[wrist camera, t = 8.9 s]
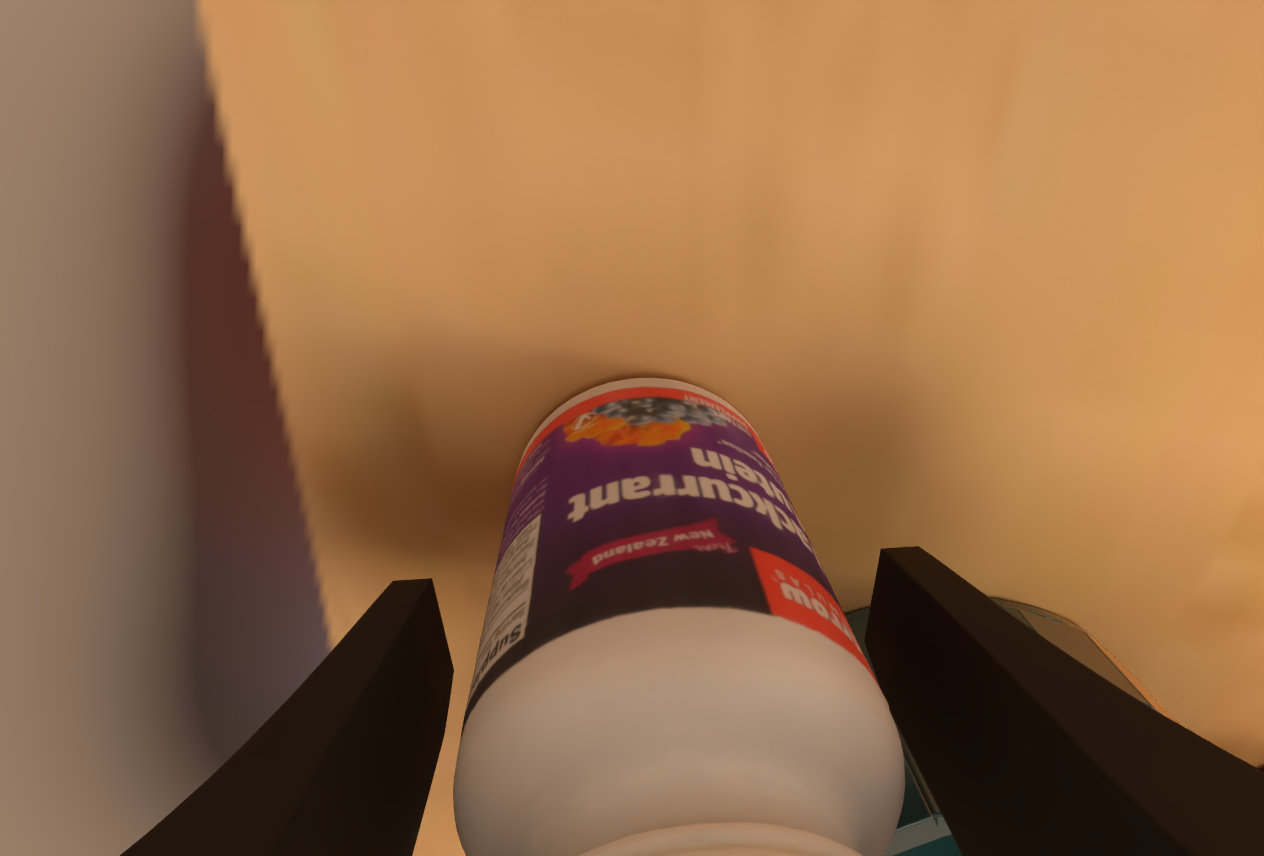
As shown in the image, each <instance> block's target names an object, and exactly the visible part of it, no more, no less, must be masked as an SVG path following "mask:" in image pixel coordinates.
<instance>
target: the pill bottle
mask: <svg viewBox="0 0 1264 856" xmlns="http://www.w3.org/2000/svg"><path fill="white" fill-rule="evenodd" d="M904 792H905V766H904V756H903V750H902V745H901V741H900V737H899V734H898V730H897V728H896V725H895V722H894V720H893V718H892V715H891V713H890V711H889V704H888V702H887V700H886V698H885V697H884V695H883V693H882V691H881V689H880V687H879V685H878V682H877V680H876V678H875V676H874V674H873V672H872V670H871V668H870V666H869V664H868V662H867V660H866V659H865V657H864V655H863V653H862V651H861V649H860V646H859V644H858V642H857V640H856V638H855V636H854V634H853V632H852V630H851V628H850V626H849V624H848V621H847V619H846V617H845V615H844V613H843V611H842V609H841V607H840V605H839V603H838V601H837V598H836V596H835V594H834V592H833V590H832V588H831V586H830V584H829V582H828V580H827V577H826V575H825V573H824V571H823V568H822V566H821V564H820V563H819V561H818V558H817V556H816V553H815V551H814V550H813V548H812V546H811V543H810V541H809V539H808V537H807V535H806V533H805V531H804V529H803V527H802V525H801V523H800V520H799V518H798V516H797V514H796V512H795V510H794V508H793V506H792V503H791V501H790V499H789V497H788V495H787V493H786V491H785V488H784V486H783V484H782V482H781V480H780V478H779V475H778V472H777V470H776V468H775V466H774V464H773V462H772V460H771V458H770V456H769V454H768V452H767V450H766V449H765V447H764V445H763V443H762V441H761V440H760V438H759V436H758V434H757V433H756V432H755V430H754V429H753V427H752V426H751V425H750V424H749V422H748V421H747V420H746V418H745V417H744V416H743V415H742V414H741V413H739V412H738V411H737V410H736V409H735V408H734V407H733V406H731V405H730V404H729V403H727V402H726V401H724V400H723V399H721V398H720V397H718V396H716V395H715V394H713V393H711V392H709V391H707V390H704V389H702V388H700V387H698V386H695V385H692V384H689V383H685V382H681V381H676V380H671V379H662V378H633V379H624V380H619V381H614V382H610V383H606V384H603V385H600V386H597V387H594V388H591V389H589V390H587V391H585V392H583V393H581V394H579V395H577V396H575V397H573V398H572V399H570V400H568V401H567V402H566V403H564V404H563V405H561V406H560V407H559V408H557V409H556V410H555V411H554V412H553V413H552V414H551V415H549V416H548V418H547V419H546V420H545V421H544V422H543V423H542V424H541V425H540V427H539V428H538V429H537V431H536V432H535V433H534V435H533V437H532V438H531V440H530V441H529V443H528V445H527V446H526V448H525V451H524V453H523V455H522V458H521V461H520V464H519V467H518V470H517V474H516V477H515V480H514V485H513V489H512V494H511V499H510V503H509V508H508V513H507V518H506V522H505V527H504V532H503V537H502V541H501V546H500V551H499V555H498V560H497V564H496V569H495V574H494V578H493V583H492V589H491V594H490V598H489V602H488V607H487V611H486V615H485V620H484V626H483V631H482V635H481V639H480V645H479V650H478V654H477V659H476V665H475V670H474V675H473V680H472V684H471V689H470V693H469V698H468V703H467V707H466V711H465V717H464V722H463V728H462V734H461V739H460V745H459V751H458V757H457V763H456V769H455V775H454V787H453V799H454V813H455V822H456V827H457V832H458V835H459V838H460V842H461V845H462V847H463V850H464V852H465V854H466V856H883V855H884V853H885V851H886V850H887V848H888V846H889V844H890V842H891V840H892V837H893V835H894V833H895V830H896V828H897V824H898V821H899V818H900V814H901V810H902V806H903V801H904Z"/></svg>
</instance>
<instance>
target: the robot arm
mask: <svg viewBox="0 0 1264 856" xmlns="http://www.w3.org/2000/svg"><path fill="white" fill-rule="evenodd" d="M864 643H865V645H866V648H867V651H868V654H869V657H870V660H871V663H872V666H873V669H874V672H875V675H876V677H877V680H878V683H879V685H880V688H881V691H882V693H883V695H884V697H885V698H886V700H887V702H888V704H889V710H890V712H891V714H892V716H893V718H894V720H895V722H896V724H897V726H898V728H899V730H900V732H901V734H902V736H903V738H904V740H905V742H906V744H907V746H908V748H909V750H910V752H911V754H912V756H913V758H914V760H915V762H916V764H917V766H918V768H919V770H920V772H921V774H922V776H923V778H924V780H925V782H926V784H927V786H928V788H929V790H930V792H931V794H932V796H933V798H934V800H935V802H936V804H937V806H938V808H939V810H940V812H941V814H942V816H943V818H944V820H945V822H946V824H947V826H948V828H949V830H950V832H951V834H952V836H953V838H954V840H955V842H956V844H957V846H958V848H959V850H960V852H961V855H962V856H1264V772H1263V771H1261V770H1259V769H1258V768H1256V767H1254V766H1252V765H1250V764H1248V763H1247V762H1245V761H1243V760H1241V759H1239V758H1237V757H1236V756H1234V755H1232V754H1230V753H1228V752H1226V751H1225V750H1223V749H1221V748H1219V747H1217V746H1216V745H1214V744H1212V743H1211V742H1209V741H1207V740H1205V739H1204V738H1202V737H1200V736H1198V735H1197V734H1195V733H1193V732H1192V731H1190V730H1188V729H1186V728H1185V727H1183V726H1181V725H1180V724H1178V723H1176V722H1174V721H1173V720H1171V719H1169V718H1167V717H1166V716H1164V715H1162V714H1161V713H1159V712H1157V711H1155V710H1154V709H1152V708H1151V707H1149V706H1147V705H1146V704H1144V703H1142V702H1141V701H1139V700H1138V699H1136V698H1134V697H1133V696H1131V695H1130V694H1128V693H1126V692H1125V691H1123V690H1122V689H1120V688H1119V687H1117V686H1116V685H1114V684H1112V683H1111V682H1109V681H1108V680H1106V679H1105V678H1103V677H1102V676H1100V675H1099V674H1097V673H1096V672H1094V671H1093V670H1091V669H1090V668H1088V667H1086V666H1085V665H1083V664H1082V663H1080V662H1079V661H1077V660H1076V659H1074V658H1073V657H1071V656H1070V655H1069V654H1067V653H1066V652H1064V651H1063V650H1061V649H1060V648H1058V647H1057V646H1055V645H1054V644H1052V643H1051V642H1050V641H1048V640H1047V639H1045V638H1044V637H1043V636H1041V635H1040V634H1038V633H1037V632H1035V631H1034V630H1033V629H1031V628H1030V627H1028V626H1027V625H1026V624H1024V623H1023V622H1021V621H1020V620H1019V619H1017V618H1016V617H1014V616H1013V615H1012V614H1010V613H1009V612H1008V611H1006V610H1005V609H1004V608H1002V607H1001V606H999V605H998V604H997V603H995V602H994V601H993V600H991V599H990V598H989V597H987V596H986V595H985V594H983V593H982V592H981V591H979V590H978V589H976V588H975V587H974V586H972V585H971V584H970V583H968V582H967V581H966V580H964V579H963V578H962V577H960V576H959V575H958V574H956V573H955V572H954V571H952V570H951V569H950V568H948V567H947V566H945V565H944V564H943V563H941V562H940V561H939V560H937V559H936V558H934V557H933V556H932V555H930V554H929V553H927V552H926V551H924V550H923V549H922V548H920V547H919V546H915V547H900V548H885V549H881V552H880V557H879V562H878V568H877V573H876V579H875V584H874V590H873V595H872V600H871V606H870V611H869V617H868V622H867V627H866V633H865V638H864ZM453 673H454V668H453V664H452V660H451V656H450V652H449V648H448V643H447V639H446V635H445V631H444V627H443V622H442V618H441V614H440V610H439V606H438V602H437V597H436V593H435V589H434V585H433V581H432V578H430V579H415V580H399V581H393V582H392V583H391V584H390V585H389V586H388V587H387V588H386V589H385V590H384V592H383V593H382V594H381V595H380V596H379V597H378V598H377V599H376V601H375V602H374V603H373V604H372V605H371V606H370V608H369V609H368V610H367V611H366V612H365V613H364V614H363V616H362V617H361V618H360V619H359V620H358V621H357V623H356V624H355V625H354V626H353V627H352V628H351V630H350V631H349V632H348V633H347V634H346V635H345V636H344V638H343V639H342V640H341V641H340V642H339V643H338V645H337V646H336V647H335V648H334V649H333V650H332V651H331V653H330V654H329V655H328V656H327V657H326V658H325V659H324V660H323V661H322V663H321V664H320V665H319V666H318V667H317V668H316V669H315V670H314V671H313V672H312V674H311V675H310V676H309V677H308V678H307V679H306V680H305V681H304V682H303V683H302V685H301V686H300V687H299V688H298V689H297V690H296V691H295V692H294V693H293V694H292V695H291V697H290V698H289V699H288V700H287V701H286V702H285V703H284V704H283V705H282V706H281V707H280V708H279V709H278V710H277V711H276V712H275V713H274V714H273V715H272V716H271V717H270V718H269V719H268V720H267V721H266V722H265V723H264V724H263V725H262V726H261V728H259V730H258V731H257V732H256V733H255V734H254V735H253V736H252V737H251V738H250V739H249V740H248V741H247V742H246V743H245V744H244V745H243V746H242V747H241V748H240V749H239V750H238V751H237V752H236V753H235V754H234V755H233V756H232V757H231V758H230V759H229V760H228V761H227V762H225V763H224V764H223V765H222V766H221V767H220V768H219V769H218V770H217V771H216V772H215V773H214V774H213V775H212V776H211V777H210V778H209V779H208V780H207V781H205V782H204V783H203V784H202V785H201V786H200V787H199V788H198V789H197V790H196V791H194V792H193V794H191V795H190V796H189V797H188V798H187V799H185V800H184V801H183V802H182V803H181V804H180V805H179V806H178V807H177V808H176V809H174V811H172V812H171V813H170V814H169V815H168V816H166V817H165V818H164V819H163V820H162V821H161V822H160V823H158V824H157V825H156V826H155V827H154V828H153V829H152V830H150V831H149V832H148V833H147V834H146V835H145V836H143V837H142V838H141V839H140V840H138V841H137V842H136V843H135V844H133V845H132V846H131V847H130V848H129V849H127V850H126V851H125V852H124V853H122V854H121V855H120V856H412V854H413V850H414V847H415V843H416V839H417V836H418V832H419V828H420V825H421V821H422V817H423V813H424V810H425V806H426V802H427V799H428V795H429V791H430V788H431V784H432V780H433V776H434V772H435V769H436V765H437V761H438V757H439V753H440V750H441V746H442V742H443V738H444V734H445V728H446V721H447V715H448V709H449V702H450V695H451V687H452V680H453Z"/></svg>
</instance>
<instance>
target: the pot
mask: <svg viewBox="0 0 1264 856" xmlns="http://www.w3.org/2000/svg"><path fill="white" fill-rule="evenodd" d="M991 600H993V601H994V602H995V603H997V604H998V605H999V606H1001V607H1002V608H1004V609H1005V610H1006V611H1008V612H1009V613H1010V614H1012V615H1013V616H1014V617H1016V618H1017V619H1019V620H1020V621H1021V622H1023V623H1024V624H1026V625H1027V626H1028V627H1030V628H1031V629H1033V630H1034V631H1035V632H1037V633H1038V634H1040V635H1041V636H1043V637H1044V638H1045V639H1047V640H1048V641H1050V642H1051V643H1052V644H1054V645H1055V646H1057V647H1058V648H1060V649H1061V650H1063V651H1064V652H1066V653H1067V654H1069V655H1070V656H1071V657H1073V658H1074V659H1076V660H1077V661H1079V662H1080V663H1082V664H1083V665H1085V666H1086V667H1088V668H1090V669H1091V670H1093V671H1094V672H1096V673H1097V674H1099V675H1100V676H1102V677H1103V678H1105V679H1106V680H1108V681H1109V682H1111V683H1112V684H1114V685H1116V686H1117V687H1119V688H1120V689H1122V690H1123V691H1125V692H1126V693H1128V694H1130V695H1131V696H1133V697H1134V698H1136V699H1138V700H1139V701H1141V702H1142V703H1144V704H1146V705H1147V706H1149V707H1151V708H1152V709H1154V710H1155V711H1157V712H1159V713H1161V714H1162V715H1164V716H1166V717H1167V718H1169V719H1171V720H1173V721H1174V722H1176V721H1175V720H1174V719H1173V718H1172V717H1171V716H1170V715H1169V714H1168V713H1167V712H1166V711H1165V709H1164V708H1163V707H1162V706H1161V705H1160V704H1159V703H1158V702H1157V701H1156V700H1155V699H1154V698H1153V697H1152V695H1151V694H1150V693H1149V692H1148V691H1147V690H1146V689H1145V688H1144V687H1143V686H1142V685H1141V684H1140V682H1139V681H1138V680H1137V679H1136V678H1135V677H1134V676H1133V675H1132V674H1131V673H1130V672H1129V671H1128V670H1127V668H1126V667H1125V666H1124V665H1123V664H1121V663H1120V662H1119V661H1118V660H1117V659H1116V658H1115V657H1114V656H1112V655H1111V654H1110V653H1109V652H1108V651H1107V650H1106V649H1105V648H1104V647H1103V646H1102V645H1101V644H1100V642H1099V641H1097V640H1096V639H1095V638H1093V637H1092V636H1091V635H1090V634H1088V633H1087V632H1086V631H1085V630H1083V629H1082V628H1081V627H1079V626H1077V625H1075V624H1073V623H1071V622H1069V621H1068V620H1066V619H1064V618H1062V617H1060V616H1058V615H1056V614H1053V613H1050V612H1047V611H1044V610H1041V609H1039V608H1036V607H1033V606H1030V605H1025V604H1020V603H1015V602H1010V601H1005V600H1000V599H991ZM869 611H870V608H866V609H862V610H858V611H855V612H852V613H849V614H845V617H846V619H847V621H848V624H849V626H850V628H851V630H852V632H853V634H854V636H855V638H856V640H857V642H858V644H859V646H860V649H861V651H862V653H863V655H864V657H865V659H866V660H867V662H868V664H869V666H870V668H871V670H872V672H873V674H874V676H875V678H876V680H877V677H876V675H875V672H874V669H873V666H872V663H871V660H870V657H869V654H868V651H867V648H866V645H865V643H864V638H865V633H866V627H867V622H868V617H869ZM877 682H878V680H877ZM878 685H879V683H878ZM879 687H880V685H879ZM880 689H881V688H880ZM889 711H890V710H889ZM890 713H891V712H890ZM891 715H892V714H891ZM892 718H893V716H892ZM893 720H894V718H893ZM894 722H895V720H894ZM1176 723H1177V722H1176ZM895 725H896V728H897V730H898V734H899V737H900V741H901V745H902V750H903V756H904V766H905V792H904V801H903V806H902V810H901V814H900V818H899V821H898V824H897V828H896V830H895V833H894V835H893V837H892V840H891V842H890V844H889V846H888V848H887V850H886V851H885V853H884V855H883V856H962V855H961V852H960V850H959V848H958V846H957V844H956V842H955V840H954V838H953V836H952V834H951V832H950V830H949V828H948V826H947V824H946V822H945V820H944V818H943V816H942V814H941V812H940V810H939V808H938V806H937V804H936V802H935V800H934V798H933V796H932V794H931V792H930V790H929V788H928V786H927V784H926V782H925V780H924V778H923V776H922V774H921V772H920V770H919V768H918V766H917V764H916V762H915V760H914V758H913V756H912V754H911V752H910V750H909V748H908V746H907V744H906V742H905V740H904V738H903V736H902V734H901V732H900V730H899V728H898V726H897V724H896V722H895Z"/></svg>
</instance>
